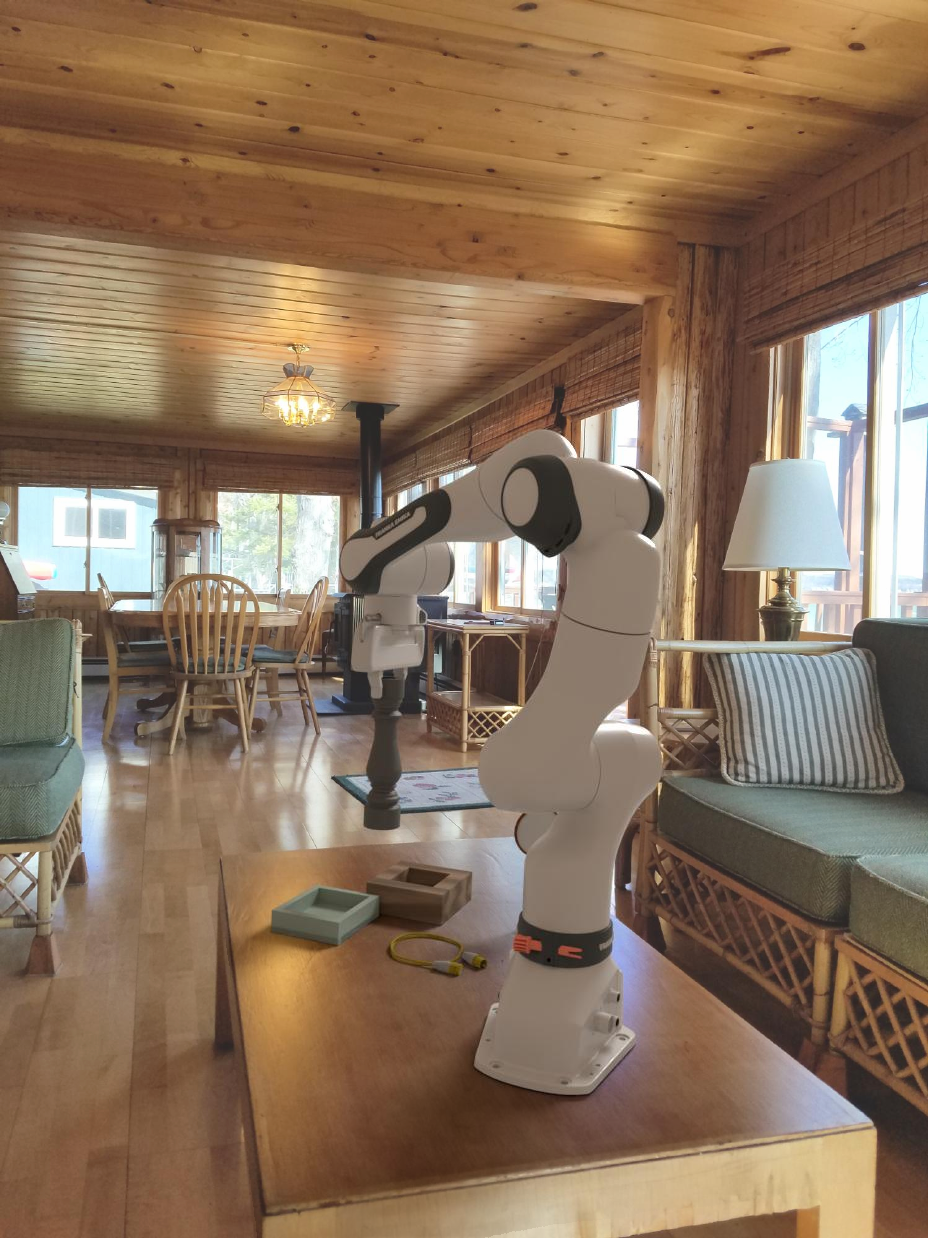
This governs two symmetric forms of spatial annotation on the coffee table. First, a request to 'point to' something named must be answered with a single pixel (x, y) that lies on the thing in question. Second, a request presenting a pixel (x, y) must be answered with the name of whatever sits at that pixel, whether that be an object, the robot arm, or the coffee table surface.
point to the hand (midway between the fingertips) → (387, 696)
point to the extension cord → (441, 965)
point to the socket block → (421, 891)
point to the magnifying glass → (532, 829)
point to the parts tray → (325, 914)
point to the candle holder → (385, 759)
